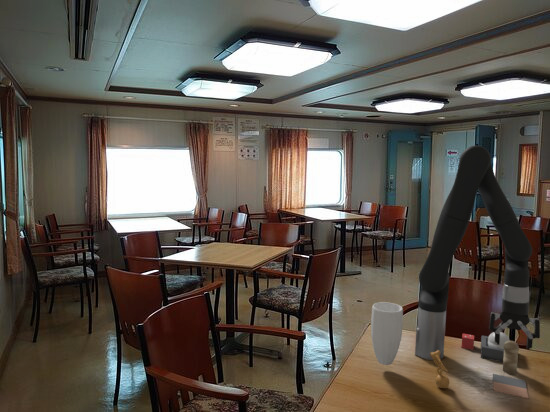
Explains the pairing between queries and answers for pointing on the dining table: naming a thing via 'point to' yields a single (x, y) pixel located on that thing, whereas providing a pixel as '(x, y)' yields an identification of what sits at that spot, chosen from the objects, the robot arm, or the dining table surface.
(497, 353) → the dark grey square tray
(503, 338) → the white ball
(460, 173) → the robot arm
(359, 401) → the dining table surface
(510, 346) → the wooden pawn
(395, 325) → the cup
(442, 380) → the figurine
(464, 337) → the red die
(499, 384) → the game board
